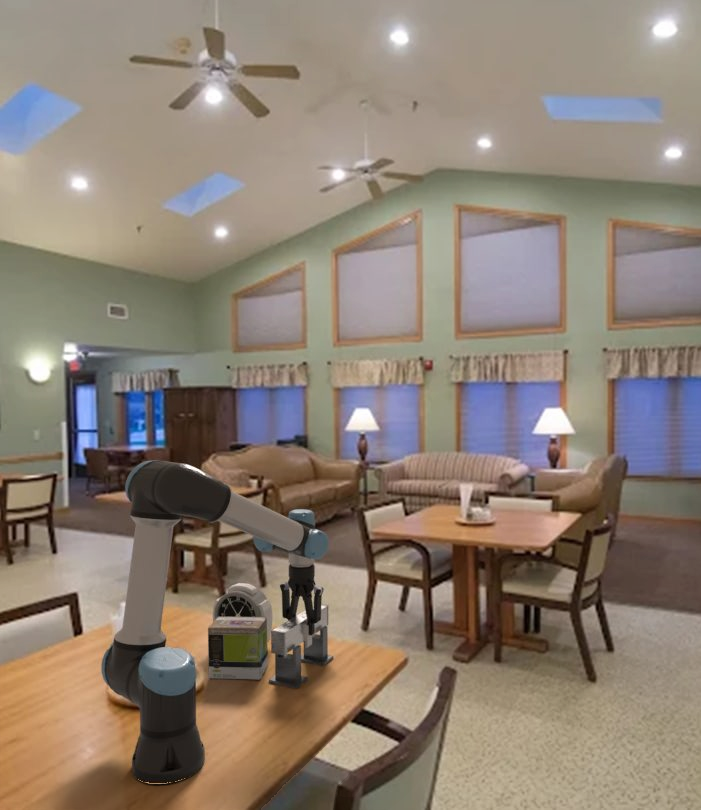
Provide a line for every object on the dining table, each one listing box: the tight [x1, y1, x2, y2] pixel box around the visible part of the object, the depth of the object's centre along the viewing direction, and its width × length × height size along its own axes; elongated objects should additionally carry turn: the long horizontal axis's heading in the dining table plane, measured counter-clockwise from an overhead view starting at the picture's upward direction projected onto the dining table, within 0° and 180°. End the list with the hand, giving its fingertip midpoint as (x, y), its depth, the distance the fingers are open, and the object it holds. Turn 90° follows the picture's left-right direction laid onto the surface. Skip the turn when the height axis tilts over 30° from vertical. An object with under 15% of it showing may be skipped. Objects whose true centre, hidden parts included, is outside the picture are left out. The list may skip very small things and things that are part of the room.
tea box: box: [207, 617, 269, 681], centre depth 181 cm, size 15×10×15 cm, turn 84°
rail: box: [270, 603, 329, 655], centre depth 182 cm, size 26×4×6 cm, turn 155°
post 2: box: [301, 626, 334, 667], centre depth 190 cm, size 6×9×10 cm, turn 65°
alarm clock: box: [212, 582, 273, 643], centre depth 198 cm, size 18×8×20 cm, turn 73°
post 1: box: [268, 644, 309, 690], centre depth 175 cm, size 6×9×10 cm, turn 65°
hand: (301, 644), depth 182 cm, fingers closed on rail, 4 cm apart
